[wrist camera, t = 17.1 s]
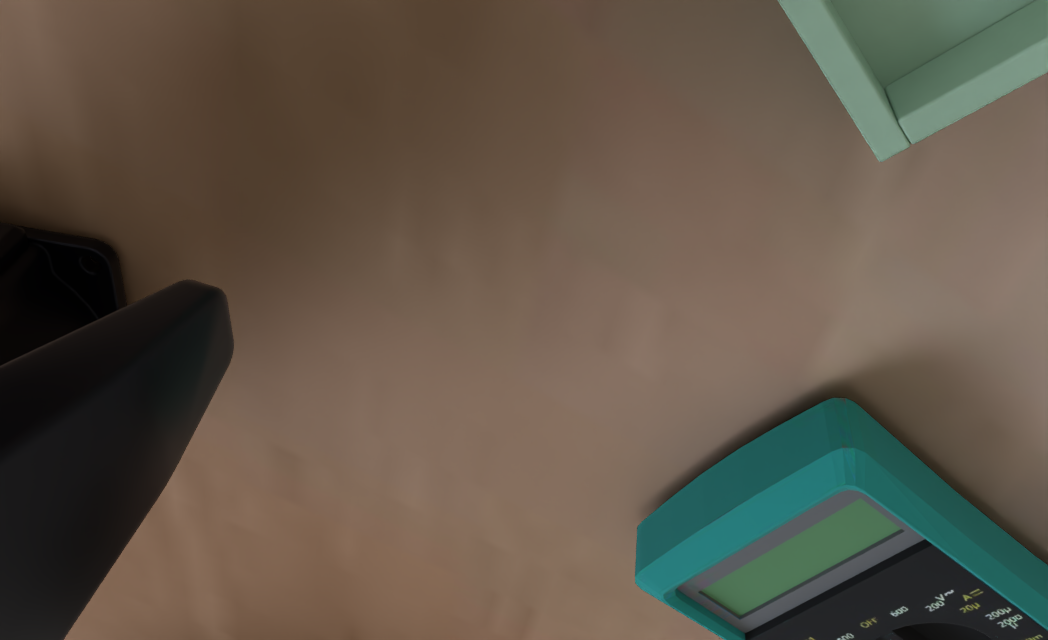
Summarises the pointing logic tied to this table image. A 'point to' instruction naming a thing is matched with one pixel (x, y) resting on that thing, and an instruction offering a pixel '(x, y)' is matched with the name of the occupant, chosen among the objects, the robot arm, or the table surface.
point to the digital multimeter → (837, 544)
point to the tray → (921, 59)
